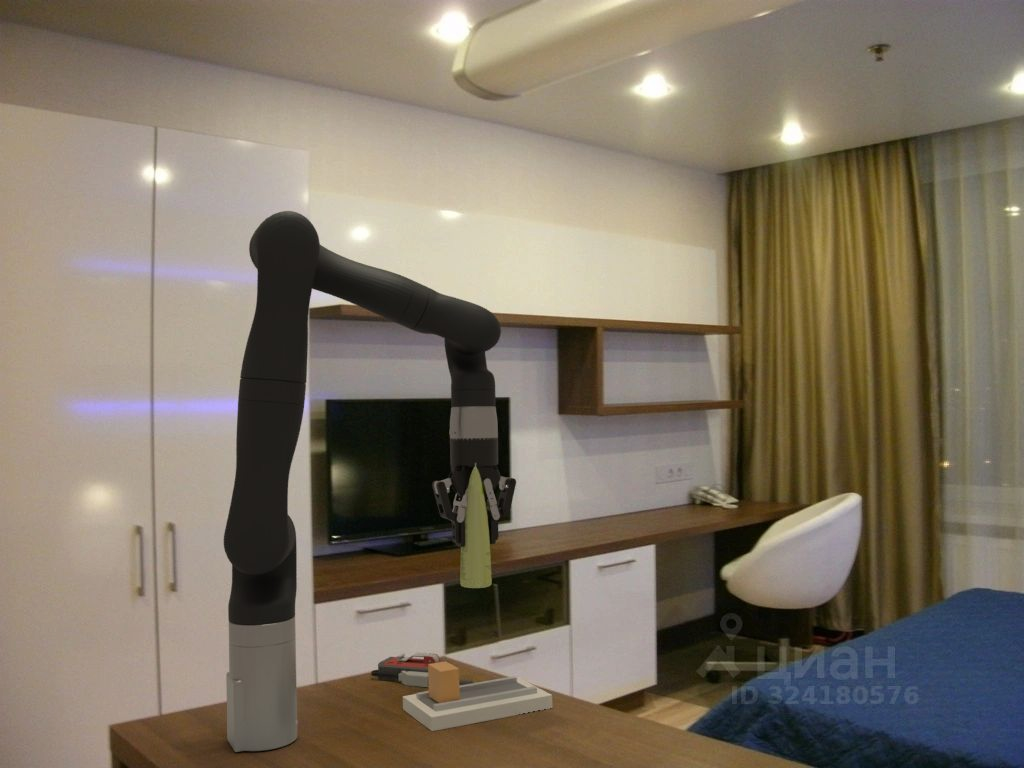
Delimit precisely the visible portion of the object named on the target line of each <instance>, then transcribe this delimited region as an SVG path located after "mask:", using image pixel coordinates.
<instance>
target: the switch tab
mask: <svg viewBox="0 0 1024 768" xmlns="http://www.w3.org/2000/svg"><path fill="white" fill-rule="evenodd" d="M446 661H447V660H446ZM446 661H445V662H439V663H432V664H428V680H429V687H428V691H429V697H431V698H432V699H434V700H435V701H437V702H438V703H444V702H449V701H455V700H460V689H459V686H460V685H459V680H460V669H459V667H457V666H455V665H454V664H451V662H450V663H448V662H449V661H448V662H446Z"/></svg>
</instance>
